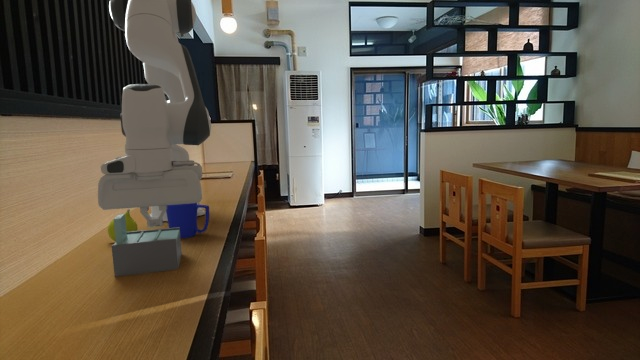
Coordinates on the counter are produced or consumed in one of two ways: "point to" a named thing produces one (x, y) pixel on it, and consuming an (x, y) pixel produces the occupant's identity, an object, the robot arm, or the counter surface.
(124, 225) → the lid
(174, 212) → the mug
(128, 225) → the pear
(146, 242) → the grey box
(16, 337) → the counter surface
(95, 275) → the counter surface
